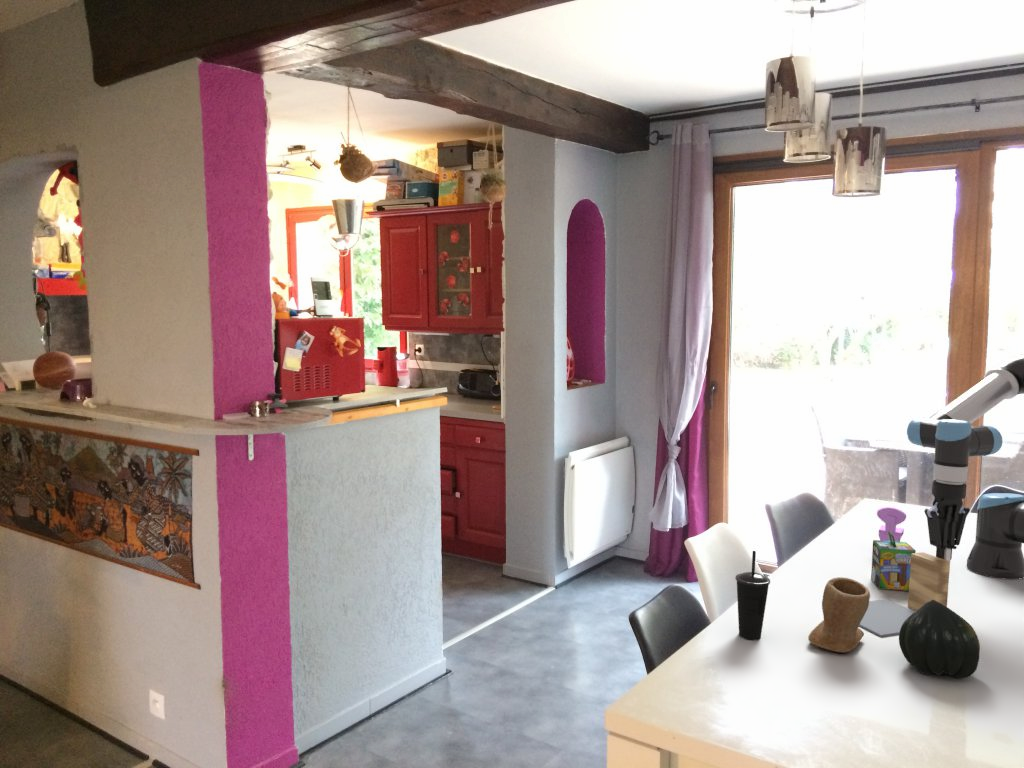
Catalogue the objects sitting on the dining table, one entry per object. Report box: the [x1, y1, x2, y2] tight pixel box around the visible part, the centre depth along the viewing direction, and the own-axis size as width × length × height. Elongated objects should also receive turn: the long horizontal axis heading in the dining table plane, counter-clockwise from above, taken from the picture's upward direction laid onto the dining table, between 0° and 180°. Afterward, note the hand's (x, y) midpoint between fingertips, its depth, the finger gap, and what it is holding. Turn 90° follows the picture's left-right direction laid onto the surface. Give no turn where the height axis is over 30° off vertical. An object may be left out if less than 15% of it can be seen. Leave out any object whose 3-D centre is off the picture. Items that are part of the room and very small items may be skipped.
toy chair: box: [876, 506, 907, 542], centre depth 250 cm, size 8×9×15 cm
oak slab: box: [907, 551, 951, 612], centre depth 200 cm, size 4×8×14 cm, turn 20°
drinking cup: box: [735, 550, 771, 641], centre depth 182 cm, size 8×8×20 cm
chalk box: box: [870, 531, 917, 592], centre depth 219 cm, size 9×9×15 cm
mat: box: [859, 598, 916, 638], centre depth 196 cm, size 20×18×1 cm
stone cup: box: [808, 576, 871, 653], centre depth 179 cm, size 15×12×15 cm
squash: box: [898, 600, 981, 679], centre depth 167 cm, size 14×15×15 cm
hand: (942, 572), depth 201 cm, fingers closed
